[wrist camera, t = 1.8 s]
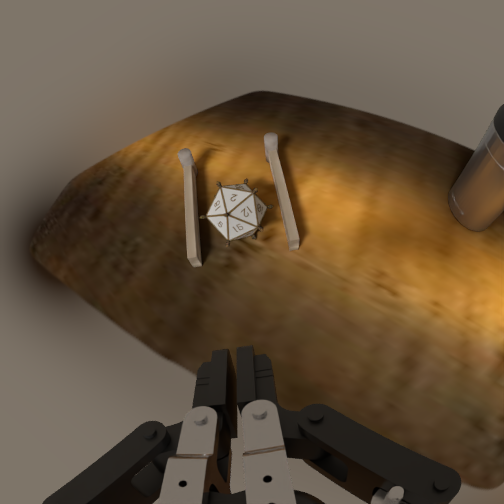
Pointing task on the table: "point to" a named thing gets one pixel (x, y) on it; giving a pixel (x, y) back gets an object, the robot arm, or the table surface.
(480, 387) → the table surface
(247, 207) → the game die
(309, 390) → the table surface
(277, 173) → the chute
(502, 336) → the table surface
